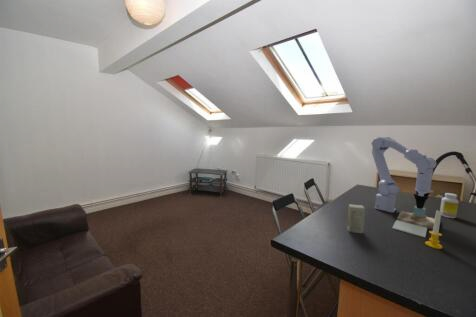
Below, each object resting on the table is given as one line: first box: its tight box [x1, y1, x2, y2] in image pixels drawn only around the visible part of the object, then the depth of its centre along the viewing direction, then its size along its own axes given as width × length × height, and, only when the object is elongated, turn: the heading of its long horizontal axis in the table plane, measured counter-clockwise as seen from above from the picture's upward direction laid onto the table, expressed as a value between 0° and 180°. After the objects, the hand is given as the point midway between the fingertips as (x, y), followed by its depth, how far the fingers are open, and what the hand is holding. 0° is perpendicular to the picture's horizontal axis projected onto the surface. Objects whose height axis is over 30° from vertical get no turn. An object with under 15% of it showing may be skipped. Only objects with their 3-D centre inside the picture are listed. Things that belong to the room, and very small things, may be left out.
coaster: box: [391, 219, 428, 239], centre depth 100 cm, size 12×12×1 cm
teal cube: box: [413, 205, 427, 218], centre depth 108 cm, size 4×4×4 cm
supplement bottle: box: [439, 192, 459, 219], centre depth 115 cm, size 7×7×13 cm
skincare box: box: [346, 203, 366, 234], centre depth 96 cm, size 6×4×12 cm
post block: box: [396, 210, 435, 230], centre depth 108 cm, size 16×14×5 cm
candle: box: [424, 210, 443, 250], centre depth 84 cm, size 5×5×16 cm
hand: (420, 206), depth 108 cm, fingers open, 7 cm apart
